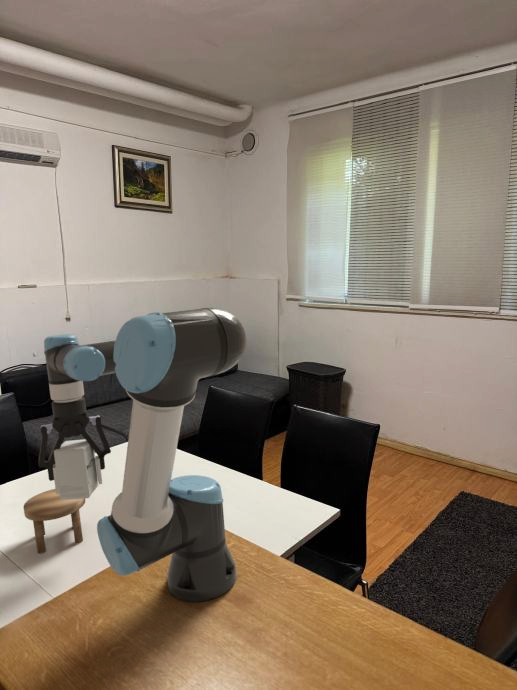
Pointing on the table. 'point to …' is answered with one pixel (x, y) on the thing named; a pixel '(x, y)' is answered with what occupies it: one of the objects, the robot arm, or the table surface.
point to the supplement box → (76, 470)
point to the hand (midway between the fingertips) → (79, 486)
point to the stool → (52, 514)
